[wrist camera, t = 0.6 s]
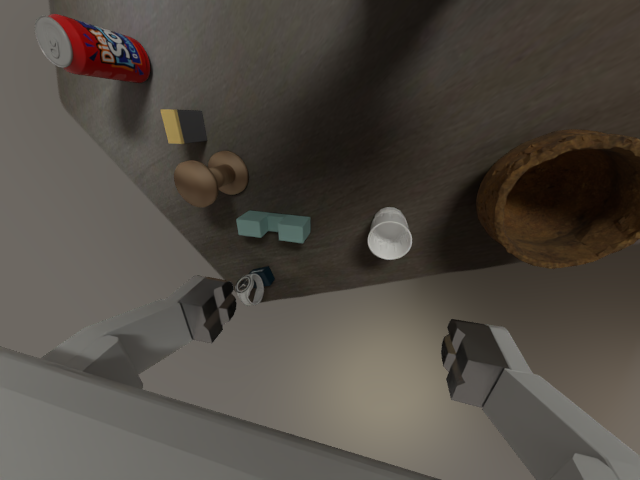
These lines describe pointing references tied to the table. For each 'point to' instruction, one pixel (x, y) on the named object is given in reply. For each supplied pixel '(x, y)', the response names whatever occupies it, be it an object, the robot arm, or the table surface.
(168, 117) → the yellow and black block
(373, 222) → the white cup
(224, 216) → the table surface
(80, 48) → the soda can
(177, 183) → the bobbin
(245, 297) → the watch
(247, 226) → the notch board
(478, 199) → the bowl
